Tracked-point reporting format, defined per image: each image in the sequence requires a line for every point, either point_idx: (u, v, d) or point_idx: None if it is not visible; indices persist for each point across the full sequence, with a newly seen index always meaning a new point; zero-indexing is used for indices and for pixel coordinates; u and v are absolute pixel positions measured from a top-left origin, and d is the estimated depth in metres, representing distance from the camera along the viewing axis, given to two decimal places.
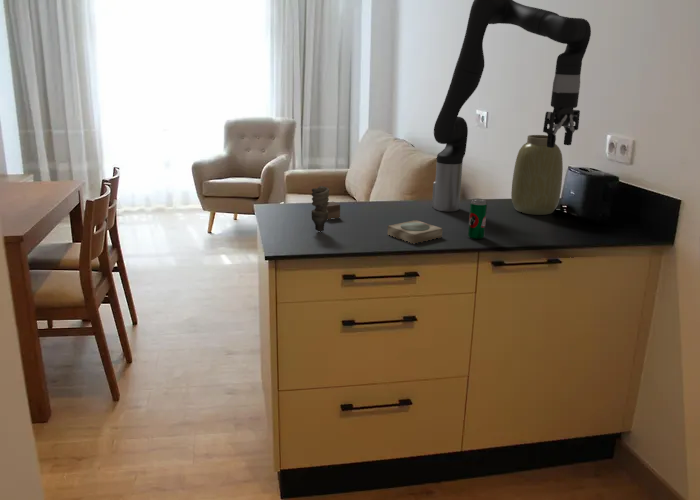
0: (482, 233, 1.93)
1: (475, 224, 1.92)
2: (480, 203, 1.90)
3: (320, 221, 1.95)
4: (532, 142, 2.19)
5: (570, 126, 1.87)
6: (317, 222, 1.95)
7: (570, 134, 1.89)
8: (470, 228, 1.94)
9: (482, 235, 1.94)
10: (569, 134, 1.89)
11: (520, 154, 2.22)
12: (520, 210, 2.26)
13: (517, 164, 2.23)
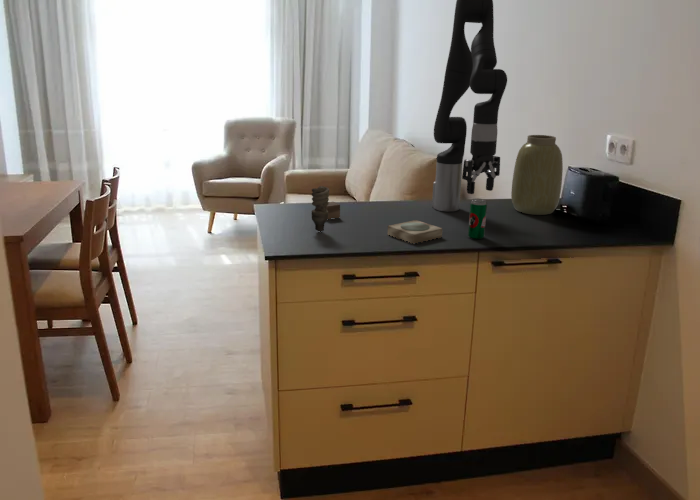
0: (482, 233, 1.93)
1: (475, 224, 1.92)
2: (480, 203, 1.90)
3: (320, 221, 1.95)
4: (532, 142, 2.19)
5: (490, 172, 1.90)
6: (317, 222, 1.95)
7: (491, 180, 1.92)
8: (470, 228, 1.94)
9: (482, 235, 1.94)
10: (491, 180, 1.92)
11: (520, 154, 2.22)
12: (520, 210, 2.26)
13: (517, 164, 2.23)
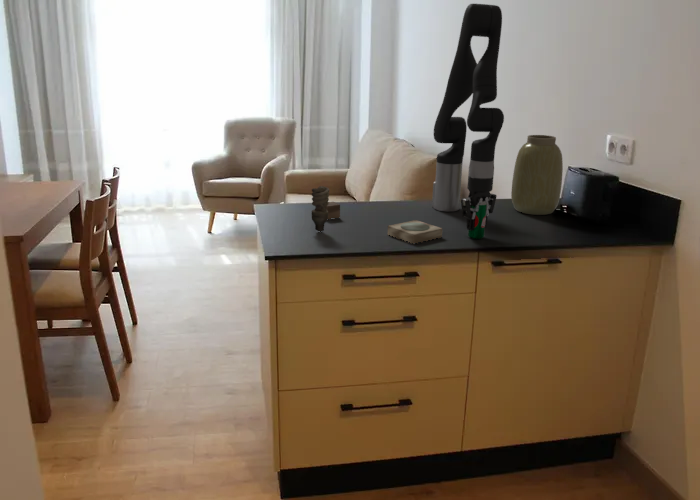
0: (482, 233, 1.93)
1: (475, 224, 1.92)
2: None
3: (320, 221, 1.95)
4: (532, 142, 2.19)
5: None
6: (317, 222, 1.95)
7: None
8: None
9: (482, 235, 1.94)
10: None
11: (520, 154, 2.22)
12: (520, 210, 2.26)
13: (517, 164, 2.23)
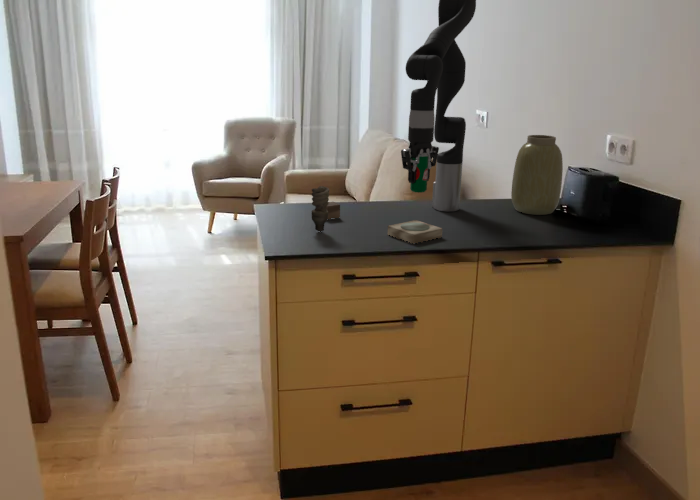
0: (424, 186, 1.89)
1: (416, 177, 1.88)
2: None
3: (320, 221, 1.95)
4: (532, 142, 2.19)
5: None
6: (317, 222, 1.95)
7: None
8: None
9: (424, 188, 1.89)
10: None
11: (520, 154, 2.22)
12: (520, 210, 2.26)
13: (517, 164, 2.23)
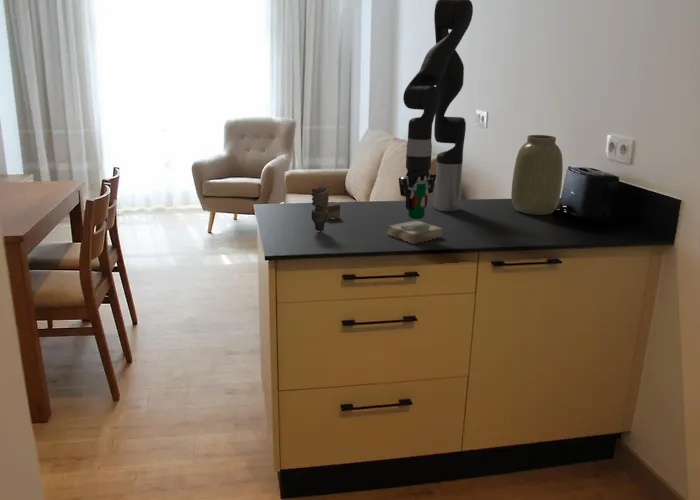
0: (421, 213, 1.92)
1: (414, 203, 1.90)
2: (418, 182, 1.89)
3: (320, 221, 1.95)
4: (532, 142, 2.19)
5: None
6: (317, 222, 1.95)
7: None
8: None
9: (421, 215, 1.92)
10: None
11: (520, 154, 2.22)
12: (520, 210, 2.26)
13: (517, 164, 2.23)
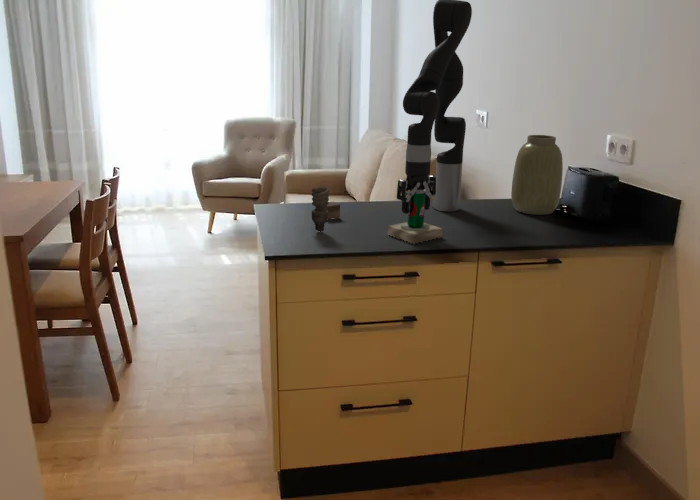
0: (421, 222, 1.93)
1: (413, 213, 1.92)
2: (418, 191, 1.90)
3: (320, 221, 1.95)
4: (532, 142, 2.19)
5: (426, 192, 1.93)
6: (317, 222, 1.95)
7: (427, 199, 1.94)
8: (409, 217, 1.93)
9: (421, 224, 1.93)
10: (426, 199, 1.94)
11: (520, 154, 2.22)
12: (520, 210, 2.26)
13: (517, 164, 2.23)
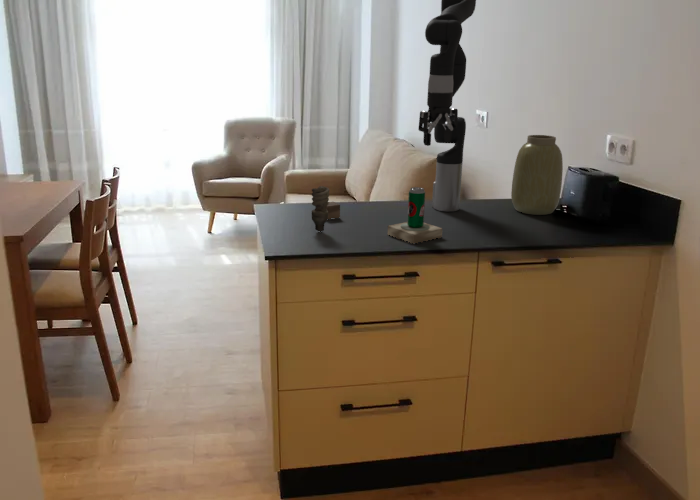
0: (421, 222, 1.93)
1: (413, 213, 1.91)
2: (418, 191, 1.89)
3: (320, 221, 1.95)
4: (532, 142, 2.19)
5: (447, 124, 1.93)
6: (317, 222, 1.95)
7: (448, 132, 1.95)
8: (409, 217, 1.93)
9: (421, 224, 1.93)
10: (448, 132, 1.95)
11: (520, 154, 2.22)
12: (520, 210, 2.26)
13: (517, 164, 2.23)
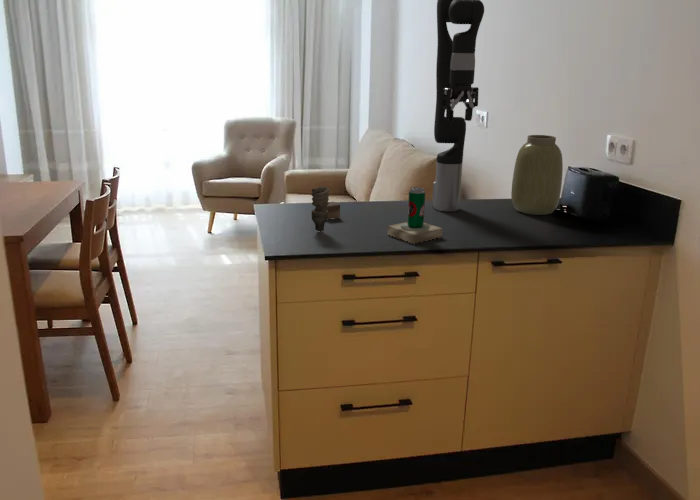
0: (421, 222, 1.93)
1: (413, 213, 1.91)
2: (418, 192, 1.89)
3: (320, 221, 1.95)
4: (532, 142, 2.19)
5: (469, 102, 1.99)
6: (317, 222, 1.95)
7: (470, 110, 2.00)
8: (409, 217, 1.93)
9: (421, 224, 1.93)
10: (469, 110, 2.00)
11: (520, 154, 2.22)
12: (520, 210, 2.26)
13: (517, 164, 2.23)
